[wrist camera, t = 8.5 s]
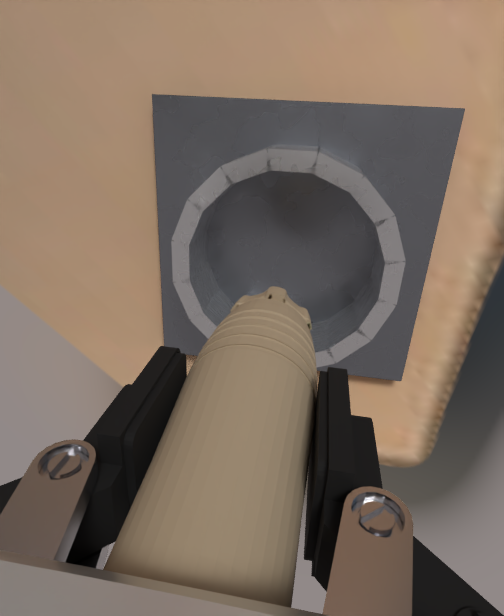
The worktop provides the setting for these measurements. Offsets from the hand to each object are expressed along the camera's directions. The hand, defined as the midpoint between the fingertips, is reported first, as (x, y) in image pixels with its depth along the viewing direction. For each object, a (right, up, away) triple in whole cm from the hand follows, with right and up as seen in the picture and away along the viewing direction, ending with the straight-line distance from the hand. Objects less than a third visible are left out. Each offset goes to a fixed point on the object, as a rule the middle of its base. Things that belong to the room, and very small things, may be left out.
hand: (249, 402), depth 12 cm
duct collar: (+3, +7, +15) cm, 16 cm away
